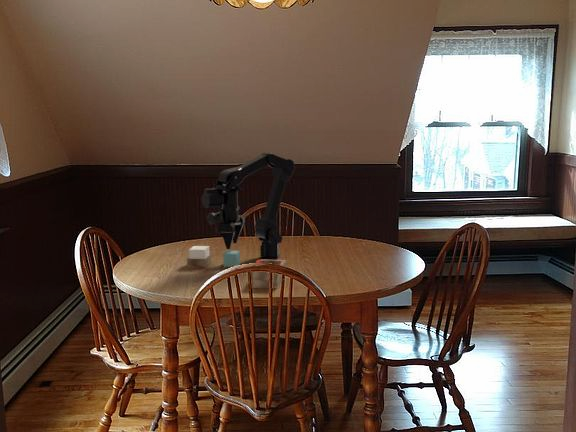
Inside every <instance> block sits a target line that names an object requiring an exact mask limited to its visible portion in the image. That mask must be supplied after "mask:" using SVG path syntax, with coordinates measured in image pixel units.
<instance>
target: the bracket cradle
mask: <svg viewBox="0 0 576 432" xmlns="http://www.w3.org/2000/svg"><path fill="white" fill-rule="evenodd" d="M259 260H261V261H262V263H272V264H277V265H281V266H284V267H286V266H287V265H286V261H287V260H286V259H261V258H260V259H259ZM286 268H287V267H286ZM272 275H273V288H272V289H276V290H278V289H279V287H280V286H281V284H282V282H281V280H282V276H281V275H279V274H275V273H273V274H272ZM251 281H252V288H253V289H270V288H269V273H268V272H251Z"/></svg>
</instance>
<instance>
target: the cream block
mask: <svg viewBox="0 0 576 432" xmlns="http://www.w3.org/2000/svg"><path fill="white" fill-rule="evenodd" d="M209 255H211V254H210V246H209V245H193V246H192V247H190V248H189V249H188V258H189V259H206V258H207V257H208V256H209Z"/></svg>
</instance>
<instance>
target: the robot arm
mask: <svg viewBox="0 0 576 432" xmlns="http://www.w3.org/2000/svg"><path fill="white" fill-rule="evenodd" d="M266 166H268V167H270V168H271V169H272V176H273V177H272V178H273V182H272V185H271V188H270V192H269V194H268V199H267V202H266V205H265V206H266V207H265V210H264V213H263V215H262V216H261V218H260V217H257V218H256V221H255V222H256V223H255V225H254V234H255V235H256V237H257V239H258V241H259V242H261V244H260V246H259V247H260V249H259V250H260V251H259V252H260V259H265V260H278V259H279V257H280V256H281V254H280V248H279V247H280V244H281V243H282V240H283V236H282V235H280V234H279V233H278V222H277V221H278V220H277V216H278V213H279V209H280V205H281V202H282V197H283V195H284V191H285V187H286V185H287V182H288V181H289V180H290V179H291V178H292V176H293V173H294V172H295V169H296V164H295V163H294V160H293V159H289V158H284V157H282V156H279V155H275V154H274V153H272V152H262V153H261V154H260V155H258V156H257V157H255V158H253V159H251V160H248V161H247V162H245V163H243V164H241V165H239V166H237V167H231V168H227V169H223V170H222V171H220V173H219V176H218V179H217V180H216V182H215V184H214V185H213V187H212V188H204V189H203V193H202V196H201V204H202V206H203V207H204V208H205V209H208V208H217V207H221V206H222V207H221V208H220V210H219V212H210V213H208V214H207V216H206V222H208V224H209V225H210V226H212V225H214V224H216V223H218V224H217V225H215V232H216V233H217V234H219V235H220V236H221V237H222V239H223V242H224V244H225V248H226V250H230V249H231V247H232V243H233V244H237V242H238V240H239V237H240V234H241V232H242V230H243V227H244V225H245V221H246V217H245V216H243V215H242V214H241V215H240V214H239V210H240V206H239V200H238V199H239V197H238V193H242V192H244V191H243V189H242V188H241V187H240V186H239V185H240V184H241V183H242V182H244V179H245V178H247V177H248V176H250V175H251V174H253V173H255V172H257V171H259V170H261V169H263V168H264V167H266Z"/></svg>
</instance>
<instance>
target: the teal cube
mask: <svg viewBox="0 0 576 432" xmlns="http://www.w3.org/2000/svg"><path fill="white" fill-rule="evenodd" d="M222 256H223V261H222V262H223V267H224V268H225V267H227V268H233V267H232V266H235V265H238V266H239V265H241V252H240V250H226V251H225V252H223V255H222Z"/></svg>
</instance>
